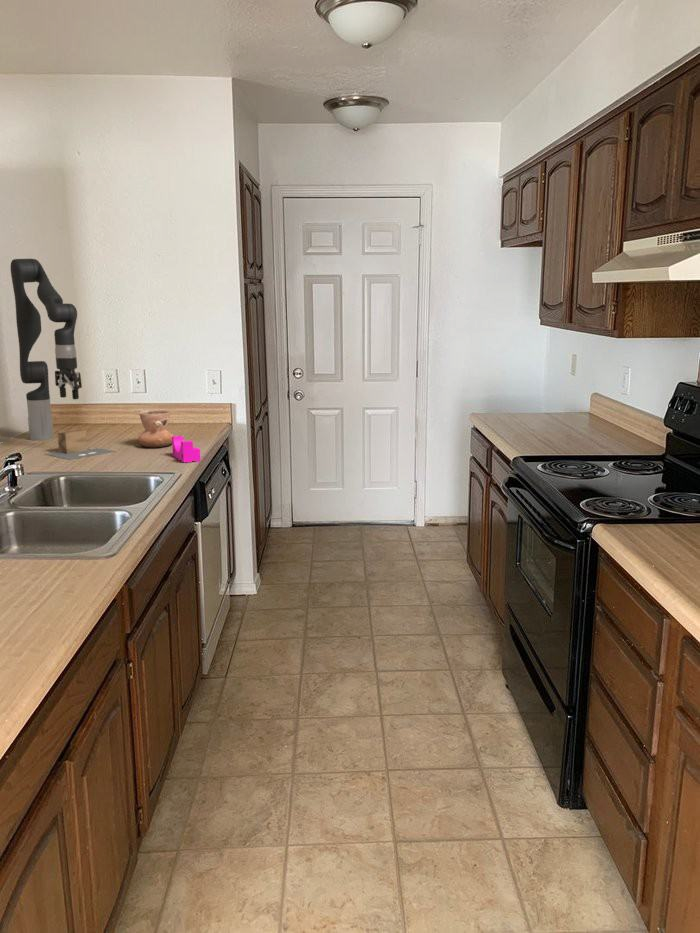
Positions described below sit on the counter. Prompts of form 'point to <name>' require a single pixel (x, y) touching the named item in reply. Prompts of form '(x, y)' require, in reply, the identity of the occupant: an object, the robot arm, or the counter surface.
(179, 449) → the toy block
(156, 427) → the ceramic jug
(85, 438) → the walnut block
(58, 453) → the grey mat
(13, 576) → the counter surface
